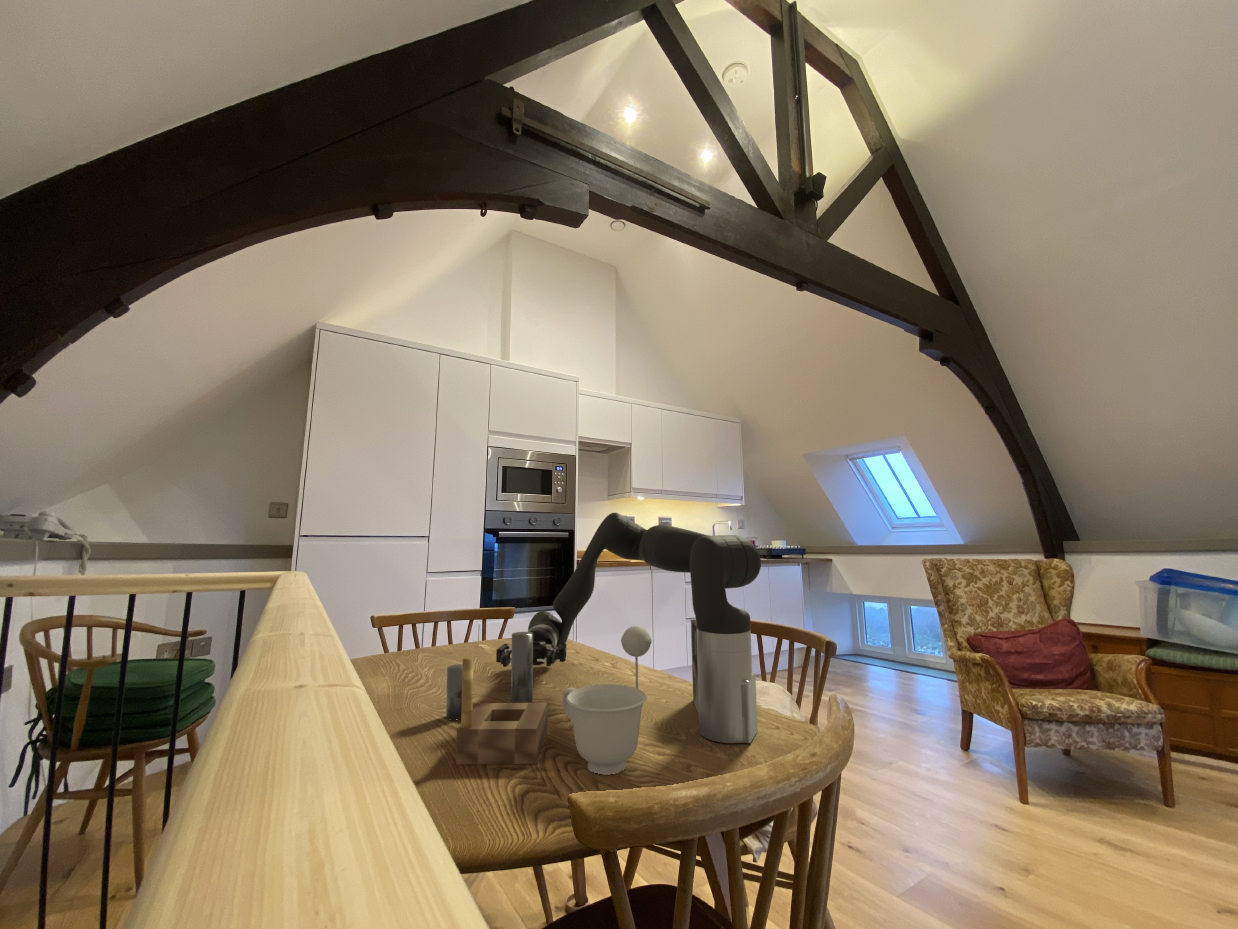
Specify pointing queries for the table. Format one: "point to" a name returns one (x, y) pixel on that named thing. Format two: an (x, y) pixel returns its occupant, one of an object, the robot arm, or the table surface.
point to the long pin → (522, 668)
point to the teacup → (605, 724)
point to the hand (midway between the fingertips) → (526, 661)
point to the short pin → (454, 692)
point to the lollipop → (636, 644)
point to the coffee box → (694, 663)
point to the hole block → (498, 728)
